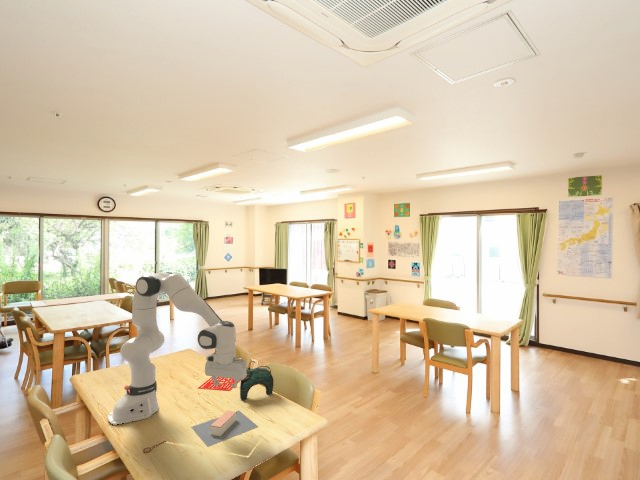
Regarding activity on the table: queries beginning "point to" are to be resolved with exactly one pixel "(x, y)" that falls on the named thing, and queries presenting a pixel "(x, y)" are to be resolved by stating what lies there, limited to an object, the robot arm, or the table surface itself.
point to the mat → (235, 429)
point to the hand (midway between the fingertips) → (225, 386)
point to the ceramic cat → (256, 380)
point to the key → (153, 446)
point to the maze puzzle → (218, 385)
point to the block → (223, 423)
